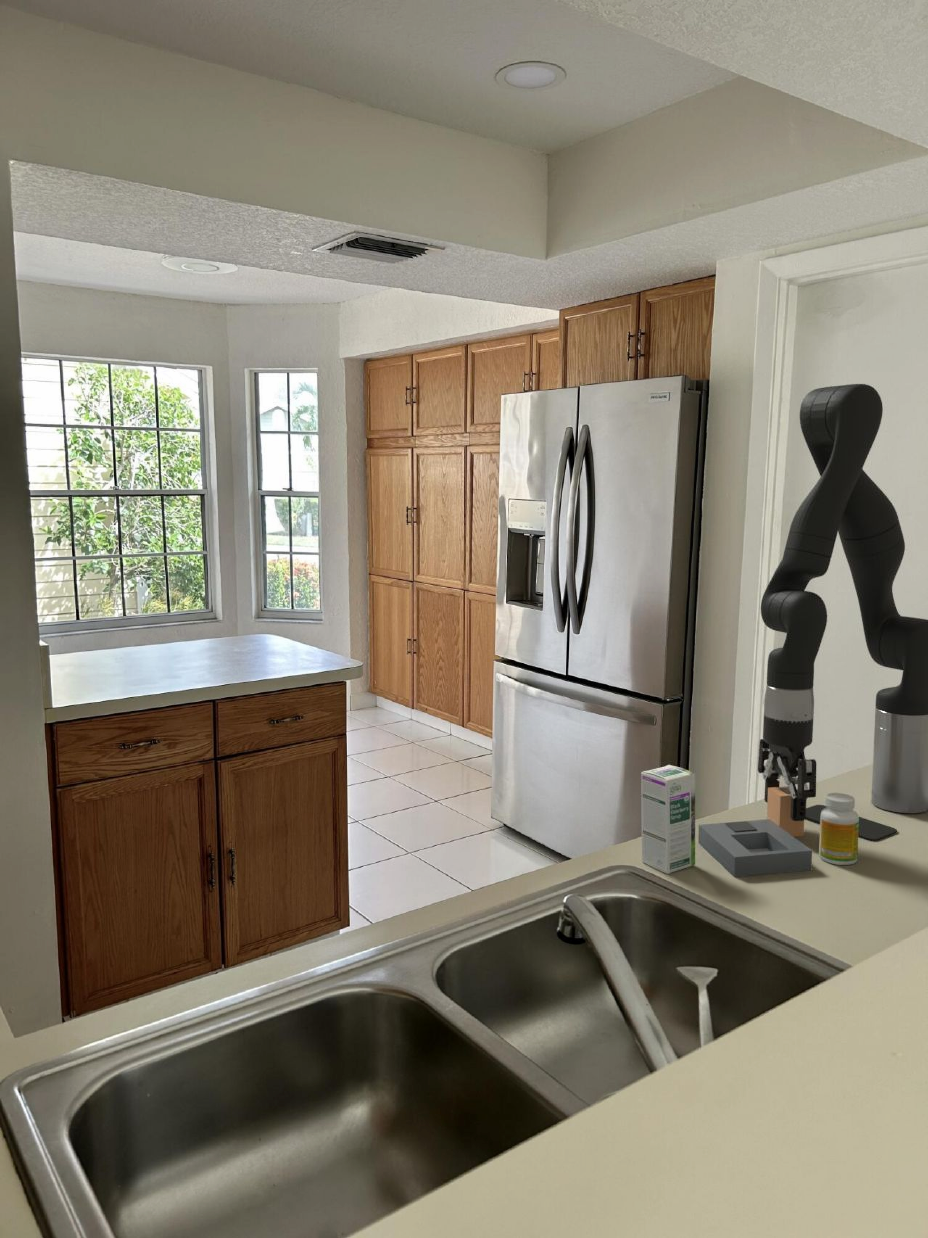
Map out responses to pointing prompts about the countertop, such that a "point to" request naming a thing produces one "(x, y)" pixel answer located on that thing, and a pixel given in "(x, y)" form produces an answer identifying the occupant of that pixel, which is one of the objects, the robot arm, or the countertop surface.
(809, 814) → the phone
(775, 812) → the block
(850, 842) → the supplement bottle
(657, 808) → the syrup box
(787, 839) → the plate
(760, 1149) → the countertop surface
